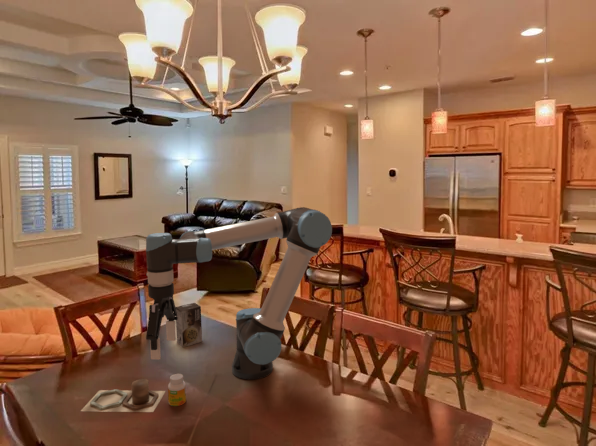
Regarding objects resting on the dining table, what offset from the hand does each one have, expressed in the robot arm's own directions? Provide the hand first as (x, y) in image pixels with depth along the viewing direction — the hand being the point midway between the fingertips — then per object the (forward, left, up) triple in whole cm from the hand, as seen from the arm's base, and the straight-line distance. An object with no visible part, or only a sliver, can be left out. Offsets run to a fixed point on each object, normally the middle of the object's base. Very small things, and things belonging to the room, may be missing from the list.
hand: (163, 349), depth 130 cm
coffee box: (+5, -46, -18) cm, 50 cm away
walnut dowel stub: (+7, +2, -16) cm, 18 cm away
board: (+12, +2, -18) cm, 22 cm away
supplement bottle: (-4, +2, -18) cm, 19 cm away
